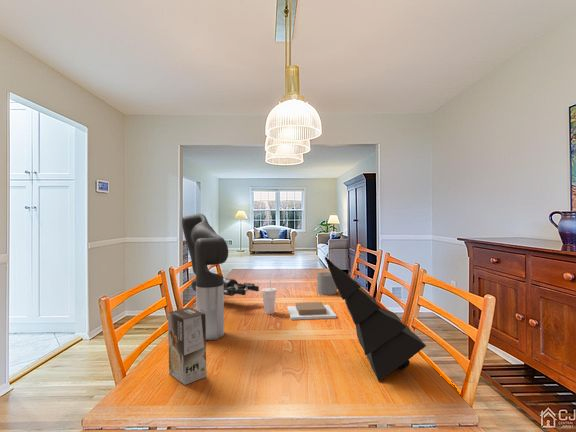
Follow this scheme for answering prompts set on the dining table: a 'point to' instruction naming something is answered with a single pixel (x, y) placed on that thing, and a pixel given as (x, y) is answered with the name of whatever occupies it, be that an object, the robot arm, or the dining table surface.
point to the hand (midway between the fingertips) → (251, 290)
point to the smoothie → (269, 299)
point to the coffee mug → (326, 284)
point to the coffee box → (187, 345)
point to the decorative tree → (376, 327)
